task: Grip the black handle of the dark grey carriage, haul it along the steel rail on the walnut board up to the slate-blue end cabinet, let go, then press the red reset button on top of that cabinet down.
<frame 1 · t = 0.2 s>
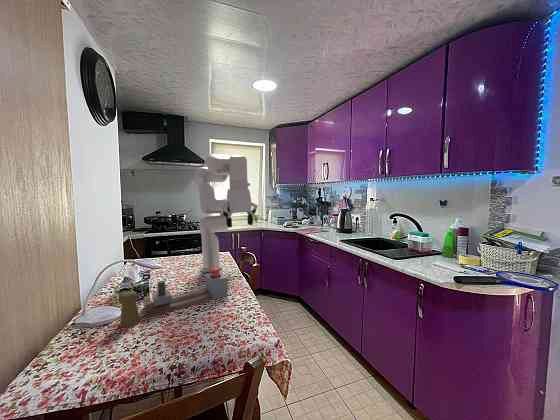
hand: (240, 225, 100), 31 cm above the table, tool pointing down, fingers open, 9 cm apart
carriage: (161, 292, 93), point 6 cm above the table, slide at 0.0 cm
end cabinet: (216, 293, 105), on the table
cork: (130, 322, 83), on the table
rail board: (178, 303, 97), on the table
reset button: (215, 272, 105), point 9 cm above the table, slide at 0.0 cm
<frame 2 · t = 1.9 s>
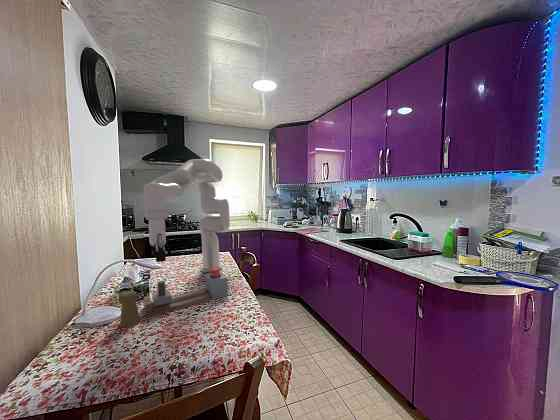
hand: (159, 258, 91), 20 cm above the table, tool pointing down, fingers open, 9 cm apart
nothing on the table moved.
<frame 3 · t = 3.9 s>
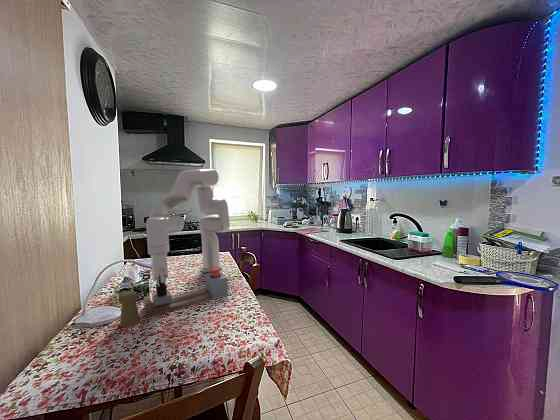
hand: (161, 293, 93), 6 cm above the table, tool pointing down, fingers closed on carriage, 2 cm apart
carriage: (161, 292, 93), point 6 cm above the table, slide at 0.0 cm, touching gripper
everything else where it was.
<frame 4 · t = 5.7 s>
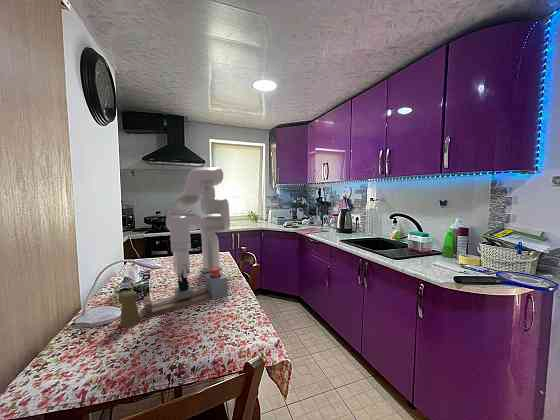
hand: (183, 288, 97), 6 cm above the table, tool pointing down, fingers closed on carriage, 2 cm apart
carriage: (183, 287, 97), point 6 cm above the table, slide at 8.2 cm, touching gripper
everything else where it was.
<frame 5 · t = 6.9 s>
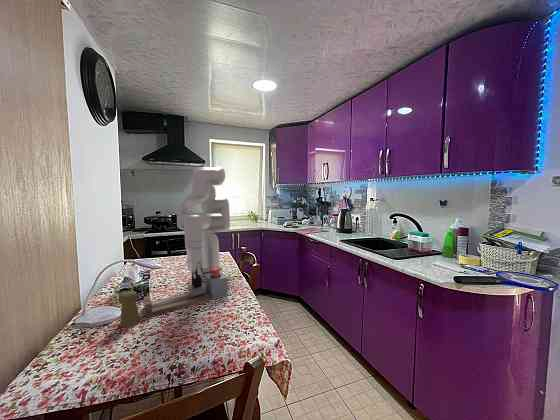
hand: (196, 285, 100), 6 cm above the table, tool pointing down, fingers closed on carriage, 2 cm apart
carriage: (196, 284, 100), point 6 cm above the table, slide at 13.6 cm, touching gripper
everything else where it was.
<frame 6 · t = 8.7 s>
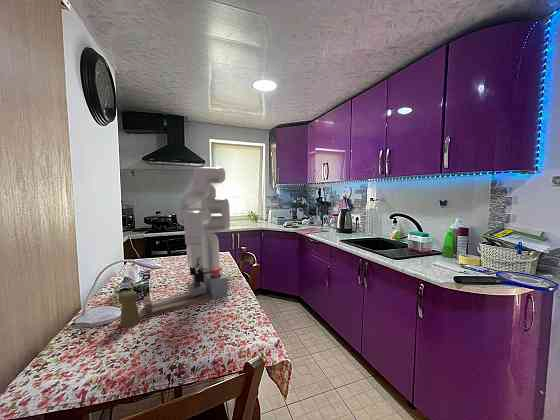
hand: (196, 278, 101), 9 cm above the table, tool pointing down, fingers open, 9 cm apart
carriage: (196, 284, 100), point 6 cm above the table, slide at 13.7 cm
everything else where it was.
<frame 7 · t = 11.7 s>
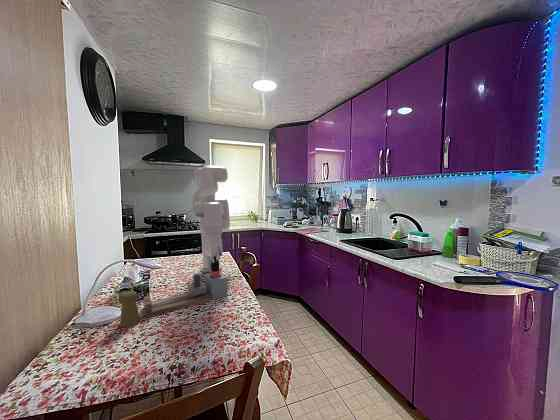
hand: (215, 270, 104), 10 cm above the table, tool pointing down, fingers closed
reset button: (215, 274, 105), point 9 cm above the table, slide at 0.9 cm, touching gripper
everything else where it was.
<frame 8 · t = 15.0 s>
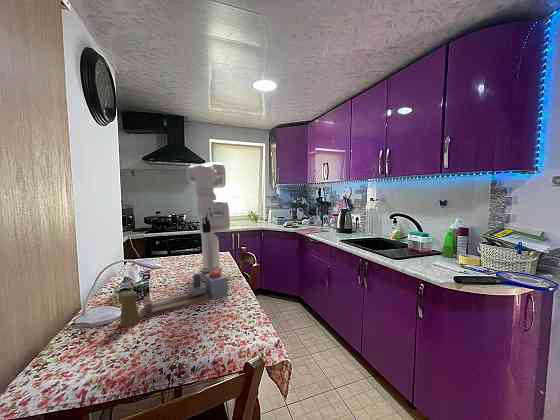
hand: (206, 232, 109), 27 cm above the table, tool pointing down, fingers closed
reset button: (215, 275, 105), point 8 cm above the table, slide at 1.4 cm
everything else where it was.
at the end: carriage slide at 13.7 cm; reset button slide at 1.4 cm; the gripper is holding nothing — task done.
